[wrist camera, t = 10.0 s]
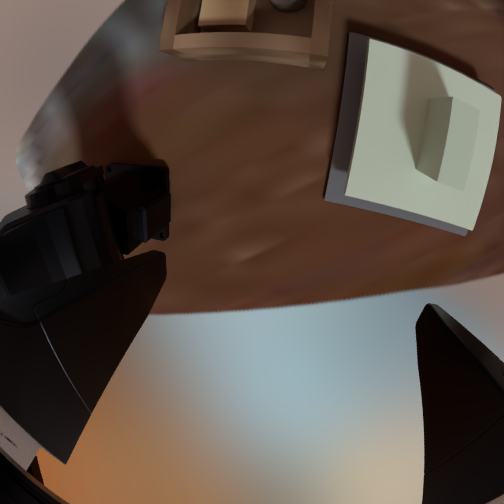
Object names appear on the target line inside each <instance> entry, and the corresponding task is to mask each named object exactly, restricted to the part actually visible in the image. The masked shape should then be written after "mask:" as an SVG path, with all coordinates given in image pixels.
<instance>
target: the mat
mask: <svg viewBox="0 0 504 504" xmlns="http://www.w3.org/2000/svg"><path fill="white" fill-rule="evenodd" d="M369 39H373V40H377V41H380V42H383V43H387V44H390V45H393V46H396V47H399V48H402V49H405V50H407V51H410V52H413V53H416V54H418V55H421V56H423V57H426V58H428V59H430V60H433V61H435V62H437V63H440V64H442V65H444V66H446V67H448V68H451V69H453V70H455V71H457V72H459V73H461V74H463V75H465V76H466V77H468V78H470V79H472V80H474V81H476V82H478V83H479V84H481V85H483V86H484V87H486V88H488V89H490V90H491V91H493V92H494V93H496V94H497V92H496V91H494V90H493V89H491V88H489V87H488V86H486V85H484V84H483V83H481V82H479V81H477V80H476V79H474V78H472V77H470V76H468V75H466V74H464V73H462V72H460V71H458V70H456V69H454V68H452V67H450V66H448V65H446V64H444V63H442V62H439V61H437V60H435V59H433V58H430V57H428V56H425V55H423V54H420V53H418V52H415V51H412V50H410V49H407V48H404V47H401V46H398V45H395V44H392V43H389V42H386V41H383V40H379V39H376V38H372V37H369V36H365V35H361V34H357V33H353V32H350V33H349V42H348V52H347V61H346V69H345V78H344V85H343V93H342V100H341V107H340V114H339V120H338V126H337V133H336V139H335V145H334V150H333V156H332V161H331V167H330V172H329V177H328V183H327V188H326V193H325V198H324V200H325V201H329V202H334V203H339V204H344V205H348V206H353V207H357V208H361V209H366V210H370V211H374V212H378V213H383V214H387V215H391V216H395V217H399V218H402V219H406V220H410V221H414V222H418V223H421V224H425V225H428V226H432V227H435V228H439V229H442V230H446V231H449V232H453V233H456V234H459V235H462V236H466V234H467V231H468V229H466V228H463V227H460V226H457V225H454V224H451V223H447V222H444V221H441V220H438V219H434V218H431V217H428V216H424V215H421V214H417V213H414V212H410V211H406V210H403V209H399V208H395V207H391V206H387V205H383V204H379V203H375V202H371V201H367V200H363V199H359V198H354V197H350V196H346V195H345V194H344V188H345V184H346V179H347V174H348V169H349V164H350V159H351V154H352V149H353V143H354V138H355V132H356V126H357V120H358V114H359V107H360V100H361V93H362V86H363V78H364V69H365V60H366V51H367V41H368V40H369Z"/></svg>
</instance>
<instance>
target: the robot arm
mask: <svg viewBox="0 0 504 504" xmlns="http://www.w3.org/2000/svg"><path fill="white" fill-rule="evenodd" d="M110 167H111V169H112V170H110ZM161 171H163V172H164V176H163V175H162V174H161ZM103 173H104V171H103V166H98V167H95V166H94V165H93V166H87V165H86V164H85V163H84V162H83V161H79V162H76V163H73V164H70V165H67V166H64V167H61V168H59V169H56V170H54V171H51V172H49V173H46V174H45V175H44V177H43V179H42V181H41V183H40V184H39V185H38V186H36V187H35V188H34V189H33V190H32V191H31V192H29V193H28V194H26V195H25V199H26V203H27V205H26V206H24V207H22V208H20V209H17V210H15V211H13V212H11V213H10V214H8V215H6V216H5V217H4V218H3V219H2V221H1V222H0V504H69V503H67V502H66V501H65V500H63V499H62V498H60V497H59V496H58V495H56V494H54V493H53V492H52V491H51V490H49V489H48V488H47V487H45V486H44V483H43V479H42V475H41V472H40V468H39V464H38V460H37V456H36V454H37V452H38V450H39V449H40V447H42V448H43V449H44V450H45V451H47V452H48V453H49V454H51V455H52V456H54V457H55V458H56V459H58V460H59V461H61V462H62V463H64V464H66V463H67V461H68V459H69V457H70V455H71V453H72V451H73V449H74V447H75V445H76V443H77V441H78V439H79V437H80V435H81V433H82V431H83V429H84V427H85V425H86V424H87V422H88V420H89V418H90V416H91V413H92V412H93V410H94V408H95V406H96V404H97V402H98V401H99V399H100V397H101V395H102V393H103V391H104V390H105V388H106V386H107V384H108V382H109V381H110V379H111V377H112V375H113V374H114V372H115V370H116V368H117V367H118V365H119V363H120V361H121V360H122V358H123V356H124V355H125V353H126V351H127V350H128V348H129V346H130V344H131V343H132V341H133V339H134V338H135V336H136V335H137V333H138V331H139V330H140V328H141V326H142V325H143V323H144V321H145V320H146V318H147V316H148V315H149V313H150V311H151V309H152V307H153V305H154V303H155V300H156V298H157V296H158V294H159V292H160V290H161V288H162V286H163V284H164V282H165V280H166V275H167V270H166V256H165V253H164V252H161V251H156V250H152V251H149V252H146V253H142V254H139V255H136V256H133V257H130V258H127V259H124V257H123V254H125V255H128V254H130V253H131V252H132V251H133V250H134V249H135V248H136V247H138V246H139V245H140V244H141V243H142V242H145V243H146V242H147V241H148V240H150V239H151V238H152V239H157V240H162V241H164V240H166V239H167V238H168V237H169V223H170V221H171V194H170V193H169V170H168V169H167V168H166V167H163V166H151V165H137V164H120V163H110V164H107V165H106V167H105V175H106V179H104V178H103ZM162 233H163V234H164V236H163V235H162ZM415 328H416V341H417V358H418V370H419V378H420V386H421V396H422V407H423V421H424V446H425V447H424V448H425V449H424V452H425V453H424V454H425V456H424V461H425V462H424V474H425V475H424V485H423V499H422V504H504V363H503V362H502V361H501V360H500V359H499V358H498V357H497V356H496V355H495V354H494V353H493V352H492V351H490V350H489V349H488V348H487V347H486V346H485V345H484V344H483V343H482V342H481V341H479V340H478V339H477V338H476V337H475V336H474V335H473V334H472V333H470V332H469V331H468V330H467V329H466V328H465V327H463V326H462V325H461V324H460V323H459V322H458V321H456V320H455V319H454V318H453V317H452V316H450V315H449V314H448V313H447V312H446V311H444V310H443V309H442V308H441V307H439V306H438V305H436V304H430V303H429V304H426V306H425V307H424V309H423V311H422V313H421V315H420V316H419V318H418V320H417V322H416V327H415Z"/></svg>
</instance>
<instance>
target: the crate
mask: <svg viewBox="0 0 504 504" xmlns="http://www.w3.org/2000/svg"><path fill="white" fill-rule="evenodd" d="M332 11H333V0H167V5H166V10H165V15H164V20H163V26H162V32H161V38H160V45H159V51H162V52H165V53H168V54H170V55H173V56H176V57H179V58H181V59H184V60H187V61H196V60H232V61H253V62H266V63H276V64H285V65H293V66H300V67H307V68H313V69H319V70H324V68H325V64H326V61H327V58H328V51H329V42H330V32H331V22H332Z"/></svg>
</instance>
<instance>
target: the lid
mask: <svg viewBox="0 0 504 504" xmlns="http://www.w3.org/2000/svg"><path fill="white" fill-rule="evenodd" d="M500 109H501V96H499V95H498V94H496V93H494V92H493V91H491V90H490V89H488V88H486V87H484V86H483V85H481V84H479V83H478V82H476V81H474V80H472V79H470V78H468V77H466V76H465V75H463V74H461V73H459V72H457V71H455V70H453V69H451V68H448V67H446V66H444V65H442V64H440V63H437V62H435V61H433V60H430V59H428V58H426V57H423V56H421V55H418V54H416V53H413V52H410V51H407V50H405V49H402V48H399V47H396V46H393V45H390V44H387V43H383V42H380V41H377V40H373V39H369V40H368V41H367V51H366V60H365V69H364V78H363V86H362V93H361V100H360V107H359V114H358V120H357V126H356V132H355V138H354V143H353V149H352V154H351V159H350V164H349V169H348V174H347V179H346V184H345V188H344V194H345V195H346V196H350V197H354V198H359V199H363V200H367V201H371V202H375V203H379V204H383V205H387V206H391V207H395V208H399V209H403V210H406V211H410V212H414V213H417V214H421V215H424V216H428V217H431V218H434V219H438V220H441V221H444V222H447V223H451V224H454V225H457V226H460V227H463V228H466V229H469V230H472V231H473V228H474V225H475V222H476V219H477V216H478V213H479V210H480V207H481V204H482V200H483V197H484V193H485V190H486V186H487V182H488V178H489V174H490V170H491V165H492V161H493V156H494V151H495V145H496V139H497V133H498V126H499V118H500Z"/></svg>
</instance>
